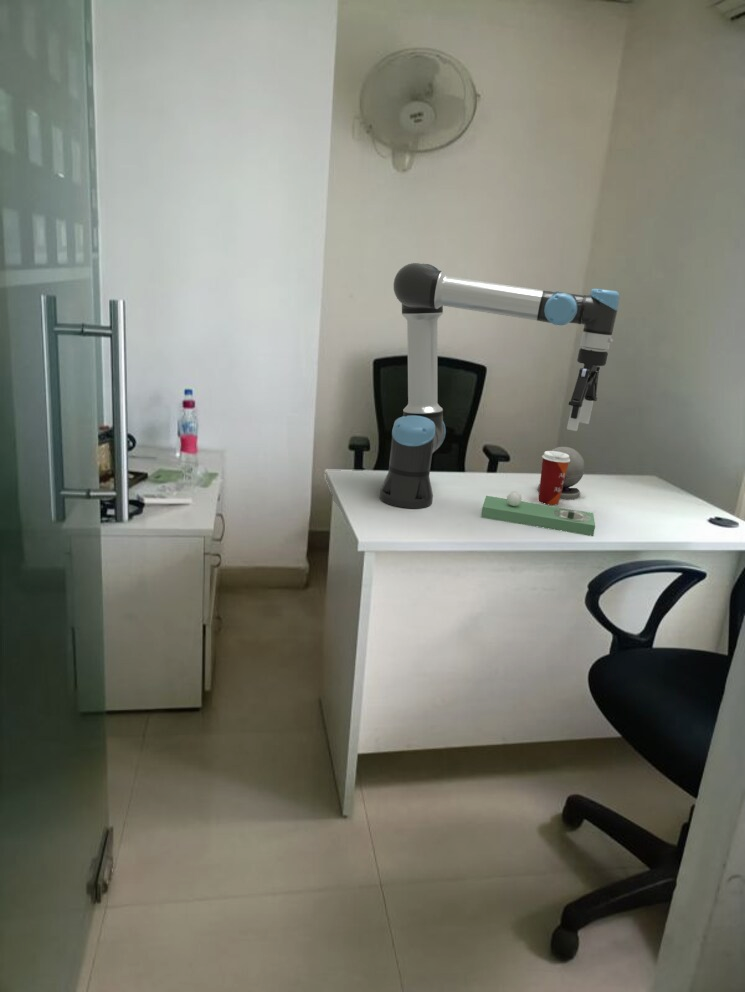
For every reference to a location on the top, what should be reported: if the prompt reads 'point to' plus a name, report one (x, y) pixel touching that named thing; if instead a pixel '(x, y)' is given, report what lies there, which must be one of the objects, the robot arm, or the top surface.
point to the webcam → (571, 473)
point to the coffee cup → (552, 476)
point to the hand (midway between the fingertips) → (578, 426)
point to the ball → (514, 499)
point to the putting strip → (539, 515)
